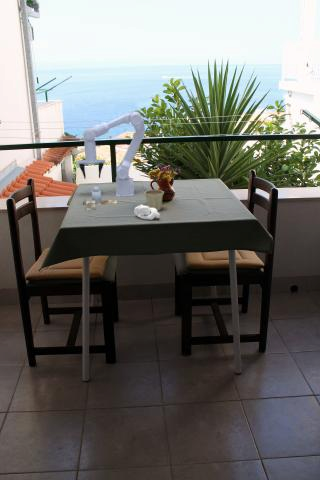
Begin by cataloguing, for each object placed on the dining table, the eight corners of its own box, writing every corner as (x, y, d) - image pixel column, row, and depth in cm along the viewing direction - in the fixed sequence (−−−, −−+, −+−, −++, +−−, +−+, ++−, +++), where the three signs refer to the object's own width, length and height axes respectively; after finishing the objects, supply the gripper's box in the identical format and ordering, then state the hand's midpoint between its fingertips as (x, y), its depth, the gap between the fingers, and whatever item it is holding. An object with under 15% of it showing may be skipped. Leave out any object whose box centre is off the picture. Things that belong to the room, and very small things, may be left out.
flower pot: (154, 205, 247) (154, 188, 244) (168, 209, 241) (168, 191, 238) (140, 209, 241) (140, 192, 238) (154, 213, 235) (153, 195, 232)
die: (95, 208, 245) (94, 200, 244) (95, 210, 241) (94, 202, 240) (87, 208, 245) (86, 201, 243) (86, 211, 241) (86, 203, 240)
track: (116, 200, 256) (116, 197, 256) (116, 204, 251) (116, 200, 250) (83, 202, 255) (83, 198, 254) (83, 205, 249) (83, 201, 249)
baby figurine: (162, 220, 226) (154, 208, 220) (139, 229, 229) (130, 217, 223) (161, 207, 232) (153, 195, 226) (138, 215, 235) (130, 204, 229)
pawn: (101, 201, 255) (100, 185, 252) (101, 203, 251) (100, 187, 248) (92, 201, 254) (91, 185, 251) (92, 204, 250) (91, 187, 247)
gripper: (75, 154, 254) (78, 180, 258) (104, 153, 255) (106, 179, 260) (76, 151, 260) (78, 177, 265) (104, 150, 261) (106, 176, 266)
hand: (92, 177), depth 263 cm, fingers open, 7 cm apart
